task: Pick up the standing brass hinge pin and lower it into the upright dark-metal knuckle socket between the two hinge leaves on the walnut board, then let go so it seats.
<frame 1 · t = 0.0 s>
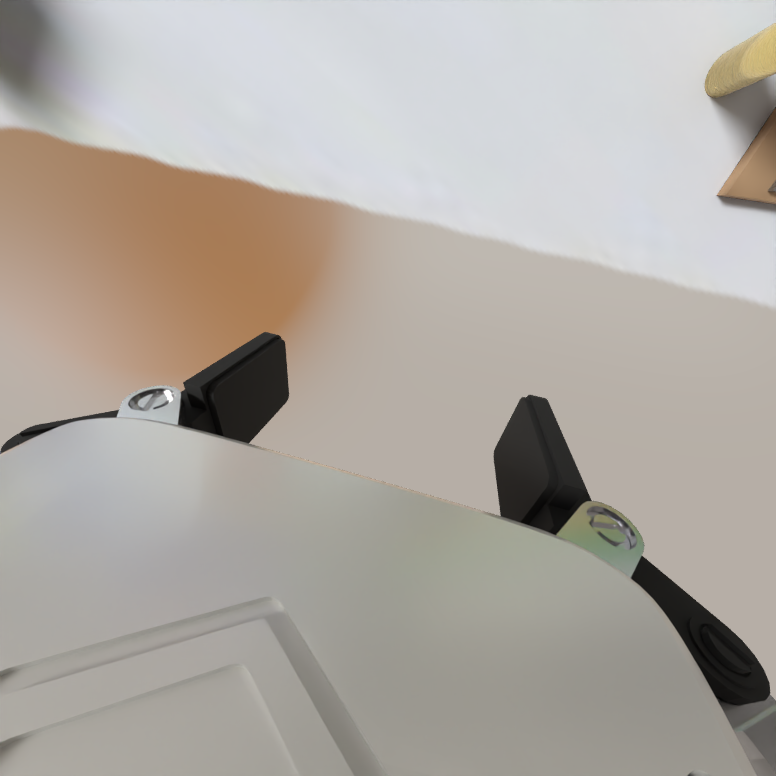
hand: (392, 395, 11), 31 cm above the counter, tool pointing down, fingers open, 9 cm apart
hinge pin: (728, 72, 24), on the counter
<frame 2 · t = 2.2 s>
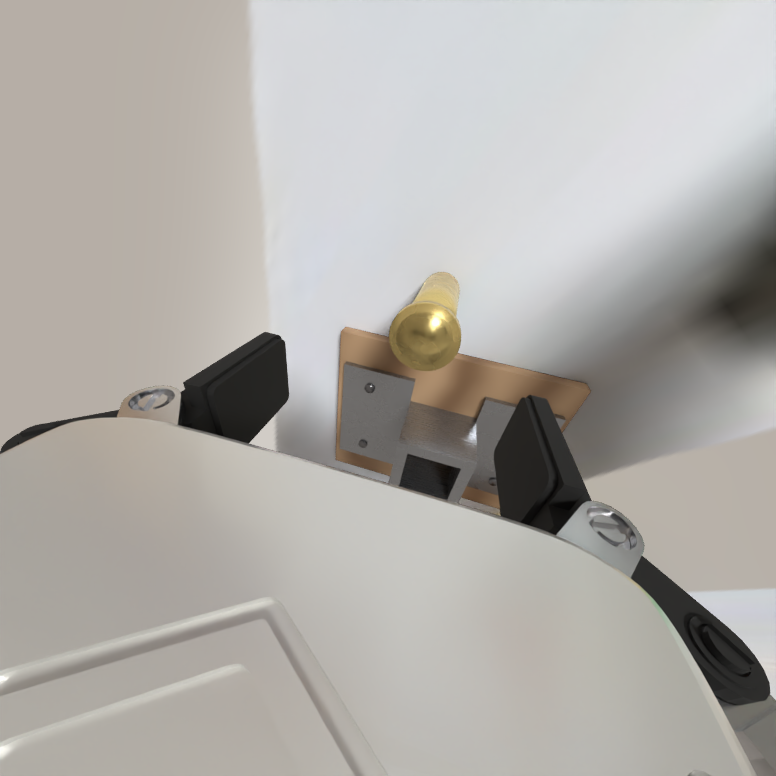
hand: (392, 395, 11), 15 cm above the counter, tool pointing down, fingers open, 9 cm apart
hinge: (431, 453, 27), on the mount board, point 4 cm above the counter
mount board: (436, 425, 31), on the counter
hinge pin: (440, 291, 23), on the counter
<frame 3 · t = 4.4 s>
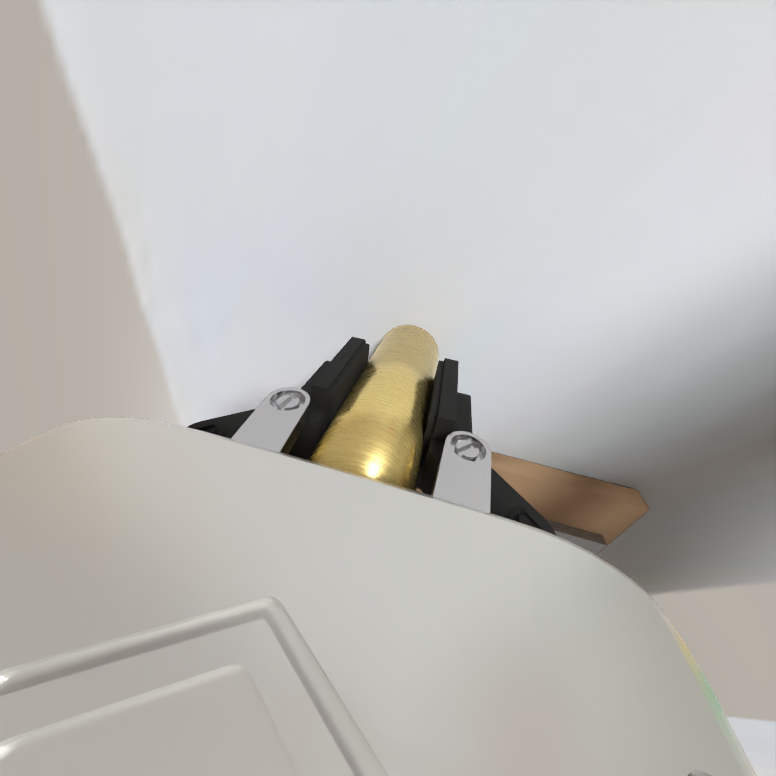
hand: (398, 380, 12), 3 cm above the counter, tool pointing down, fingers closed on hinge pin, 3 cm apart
hinge: (404, 580, 18), on the mount board, point 4 cm above the counter
mount board: (413, 521, 22), on the counter
hinge pin: (408, 353, 14), on the counter, touching gripper
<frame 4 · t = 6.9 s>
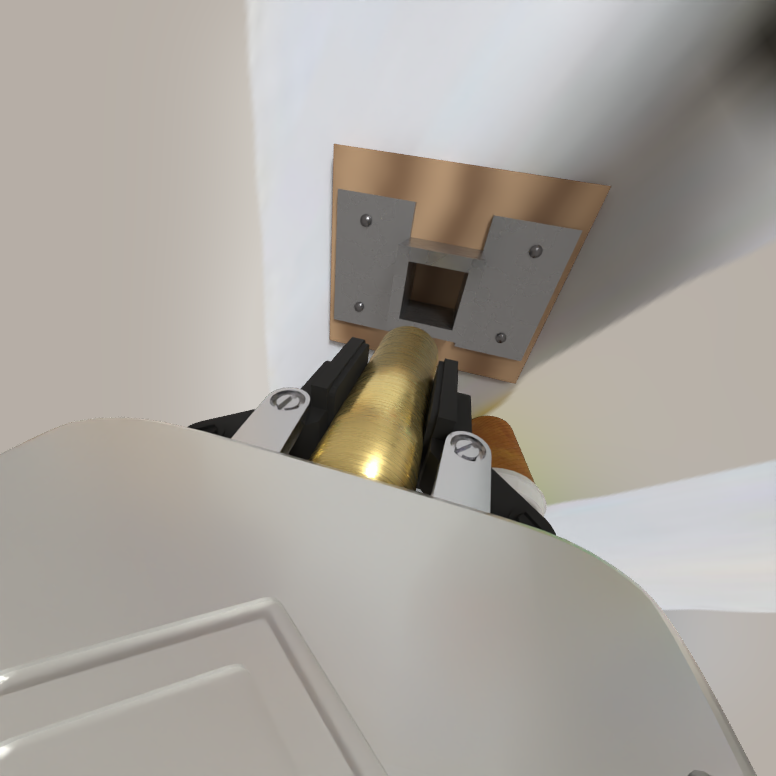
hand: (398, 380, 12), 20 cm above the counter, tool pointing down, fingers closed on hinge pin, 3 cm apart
hinge: (434, 288, 25), on the mount board, point 4 cm above the counter
mount board: (438, 278, 28), on the counter
disposable coffee cup: (487, 433, 37), on the counter
hinge pin: (408, 354, 14), point 17 cm above the counter, touching gripper
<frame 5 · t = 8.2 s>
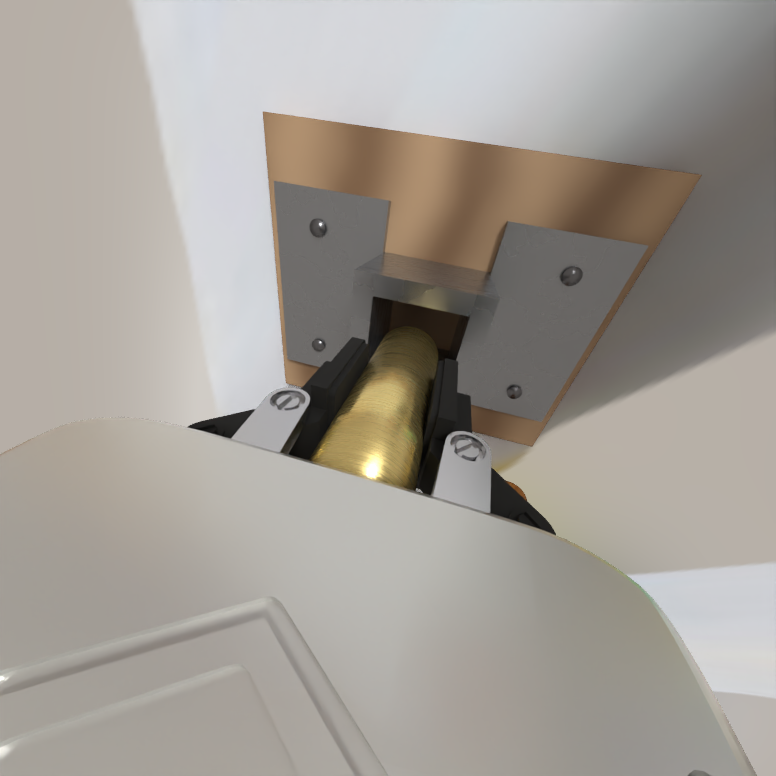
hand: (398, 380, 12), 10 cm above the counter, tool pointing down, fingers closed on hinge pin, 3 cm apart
hinge: (419, 329, 17), on the mount board, point 4 cm above the counter
mount board: (426, 308, 20), on the counter
hinge pin: (408, 354, 14), point 7 cm above the counter, touching gripper
when the fingers open (8 cm above the counter, at t = 9.3 s): hinge pin drops 1 cm, resting on mount board.
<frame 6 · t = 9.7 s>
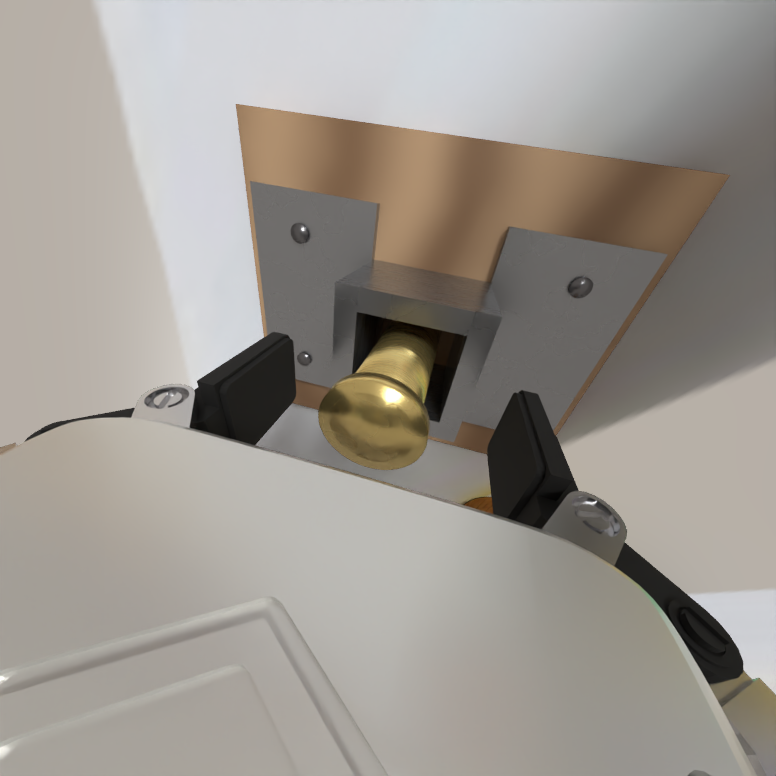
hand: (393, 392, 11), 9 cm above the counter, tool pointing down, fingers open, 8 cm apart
hinge: (411, 345, 15), on the mount board, point 4 cm above the counter
mount board: (421, 319, 18), on the counter
hinge pin: (418, 324, 17), point 1 cm above the counter, touching mount board
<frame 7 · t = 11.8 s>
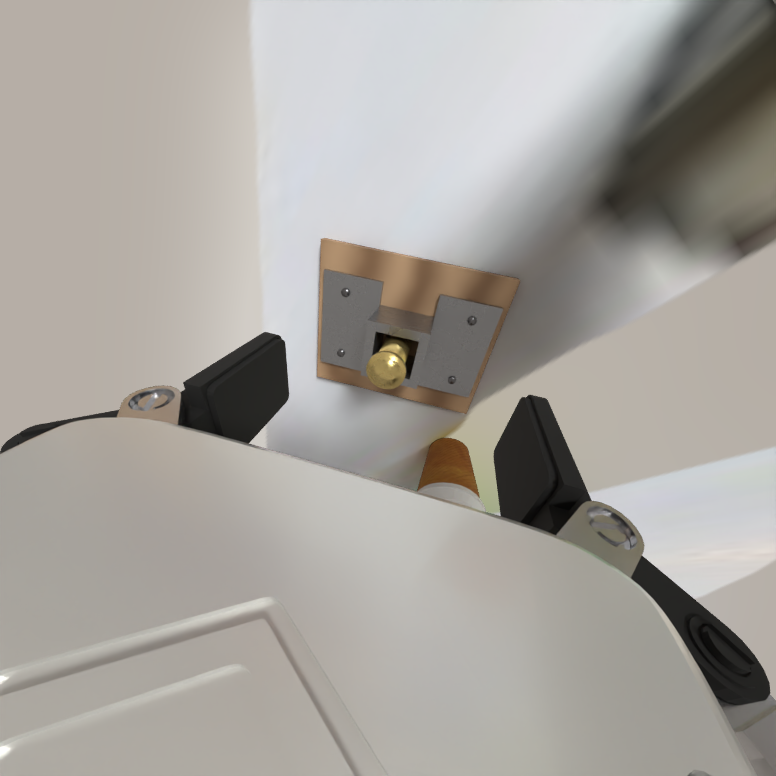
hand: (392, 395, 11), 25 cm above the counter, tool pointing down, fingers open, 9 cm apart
hinge: (398, 345, 32), on the mount board, point 4 cm above the counter
mount board: (403, 333, 36), on the counter
disposable coffee cup: (448, 451, 45), on the counter
hinge pin: (401, 335, 35), point 1 cm above the counter, touching mount board
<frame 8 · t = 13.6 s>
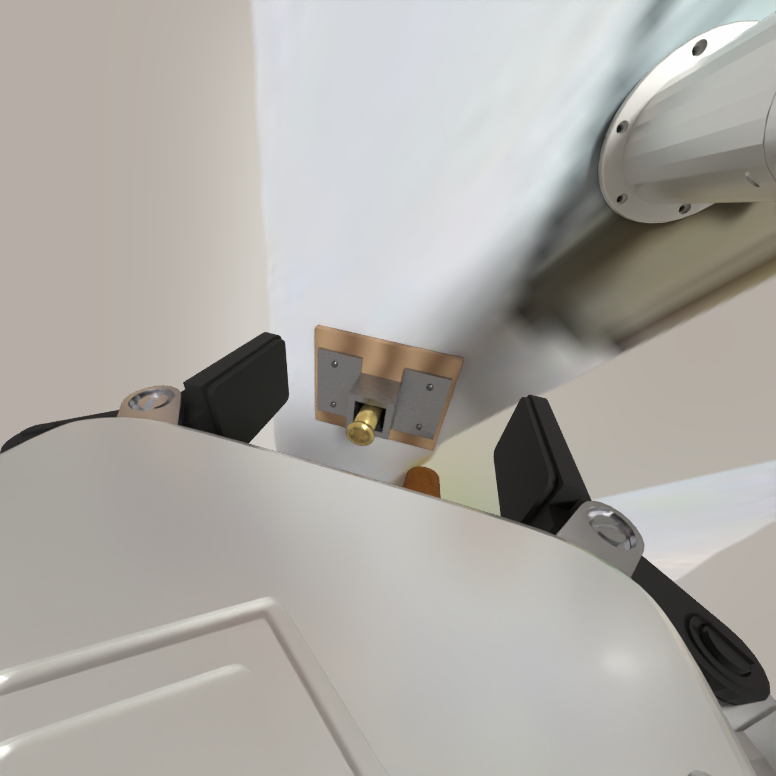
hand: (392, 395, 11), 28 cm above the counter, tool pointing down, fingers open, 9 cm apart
hinge: (374, 405, 43), on the mount board, point 4 cm above the counter
mount board: (380, 390, 46), on the counter
disposable coffee cup: (423, 476, 55), on the counter
hinge pin: (378, 394, 45), point 1 cm above the counter, touching mount board
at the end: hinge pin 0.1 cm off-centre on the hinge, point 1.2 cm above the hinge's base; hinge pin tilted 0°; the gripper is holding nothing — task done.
